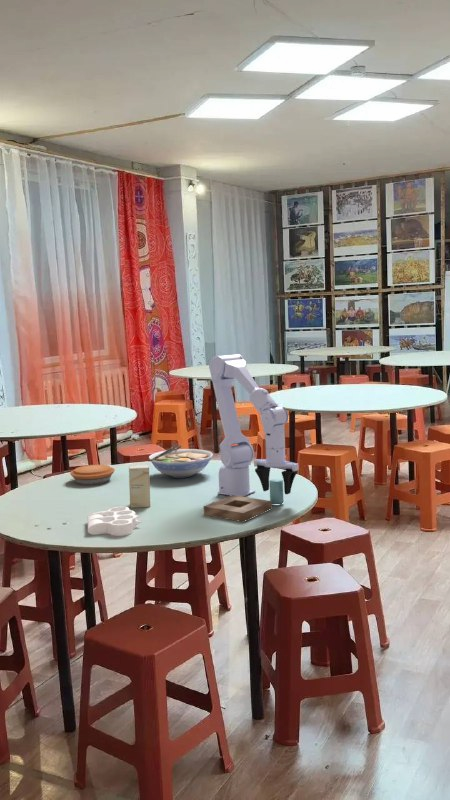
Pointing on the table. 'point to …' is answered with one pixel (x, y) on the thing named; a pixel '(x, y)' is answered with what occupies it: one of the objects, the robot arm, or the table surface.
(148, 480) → the skincare box
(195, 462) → the ramen bowl
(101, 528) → the paw shaped tray
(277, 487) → the peg
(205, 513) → the socket block
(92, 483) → the pie
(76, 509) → the table surface
